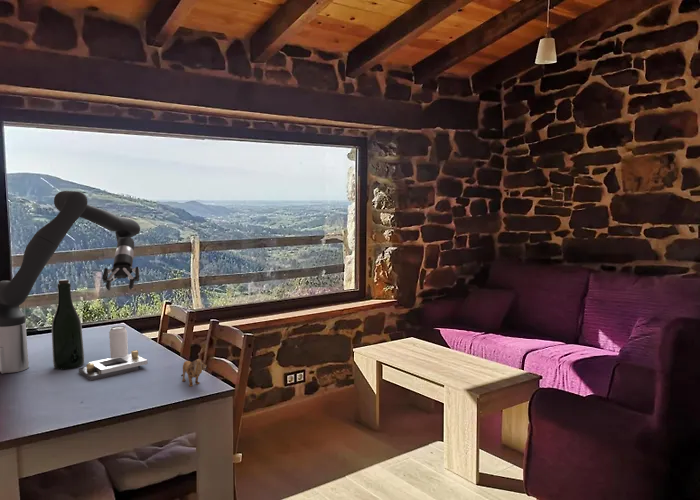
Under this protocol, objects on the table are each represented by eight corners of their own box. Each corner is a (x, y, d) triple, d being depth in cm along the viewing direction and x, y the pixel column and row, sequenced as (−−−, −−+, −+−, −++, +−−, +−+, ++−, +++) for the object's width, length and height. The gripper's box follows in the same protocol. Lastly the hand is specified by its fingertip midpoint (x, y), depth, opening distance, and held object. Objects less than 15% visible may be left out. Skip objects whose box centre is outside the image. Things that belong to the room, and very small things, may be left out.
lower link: (91, 380, 189) (90, 369, 188) (79, 372, 198) (78, 361, 198) (138, 370, 200) (137, 359, 200) (124, 362, 209) (124, 352, 209)
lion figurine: (209, 385, 182) (208, 359, 181) (194, 389, 178) (193, 362, 178) (187, 375, 193) (186, 350, 192) (173, 379, 189) (172, 354, 188)
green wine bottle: (71, 370, 200) (66, 281, 197) (46, 369, 202) (41, 281, 200) (90, 362, 211) (85, 277, 208) (66, 361, 213) (61, 277, 210)
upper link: (101, 374, 191) (100, 362, 191) (88, 366, 200) (88, 355, 200) (147, 363, 202) (147, 353, 202) (133, 357, 212) (133, 346, 211)
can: (131, 354, 220) (129, 325, 219) (123, 359, 214) (121, 329, 213) (116, 354, 221) (114, 325, 220) (107, 359, 214) (105, 329, 213)
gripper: (104, 253, 232) (99, 284, 222) (139, 252, 235) (135, 282, 225) (108, 264, 238) (103, 295, 228) (142, 263, 241) (139, 293, 231)
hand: (119, 288), depth 226 cm, fingers open, 8 cm apart
